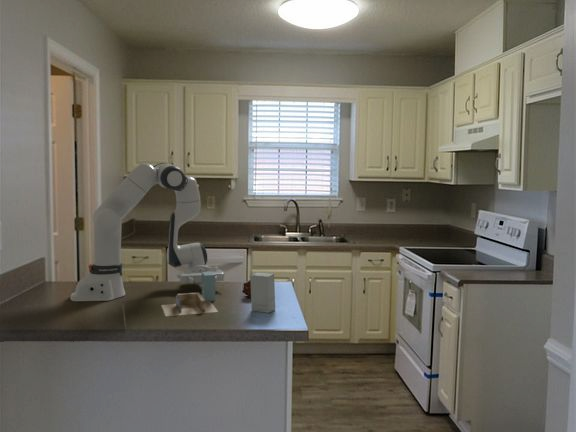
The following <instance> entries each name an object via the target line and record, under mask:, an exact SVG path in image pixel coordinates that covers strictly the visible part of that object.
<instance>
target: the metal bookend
mask: <svg viewBox="0 0 576 432" xmlns="http://www.w3.org/2000/svg"><path fill="white" fill-rule="evenodd" d="M175 304H176V307H177V309H178V311H179V313H181V300H180V298H179V296H178V295H177V294H175Z"/></svg>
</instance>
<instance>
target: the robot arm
mask: <svg viewBox="0 0 576 432" xmlns="http://www.w3.org/2000/svg"><path fill="white" fill-rule="evenodd" d="M155 185H159V186H160V187H162V188H165V189H167V190H170V191H174V193H175V201H176V205H175V210H174V211H173V212H172V213H171V214H170V217H169V226H168V238H167V239H168V242H167V251H166V256H165V257H166V261H167V264H168V265H169V266H171V267H173V268H179V267H182V266H185V267H186V268H185V271H186V272H180V273H179V275H177V279H179V283H180V284H195V285H202V272H213V273H214V274H215V283H217V282H223V281H225V272H224V271H223V270H221V269H220V268H218V266H209V265H207V263H208V253H207V252H208V251H207V249H206V247H205V246H204V244H202V243H201V242H199V241H198V242H193V243H192V242H191V243H187V244H186V243H185V244H182V245H179V244H178V239H179V238H178V236H179V230H180V227H181V226H183V225H184V224H186V223H187V222H189V221H191V220H193V219H194V218H196V217H197V216H198V215H199V213H200V211H201V209H202V206H201V205H202V203H201V202H202V201H201V193H200V190H199V186H198V182H197V180H196V179H195V178H194V177H192V176H189V175H188V176H186V174H185V173H184V171H183V170H182V169H181V168H180V167H179V166H177V165H174V164H172V163H167V162H161V163H157V164H155V165H152V164H150V163H147V162H143V163H139V165H137V166H136V167H135V168H134V169H132V170H131V171H130V172H128V174H127V175H126V177H125V178H124V179H123V180H122V181H121V182H120V184H119V185H118V186H117V187H116V188H115V190H114V191H113V192H111V193H110V194H109V196H108V197H107V198H106V199H105V200H104V201H103V202H102V203H101V204H100V205H99V206H98V208H96V210H95V211H94V212H93V214H92V222H93V259H94V260H93V262H94V263H89V265H88V268H89V269H88V270H89V273H88V274H87V275H85V276H84V277H83V278H82V279H80V280H79V281H78V282H77V284H76V287H75V292H72V293H71V294H70V295H69V299H70V301H71V302H101V301H104V302H105V301H112V300H114V299H119V298H122V297H124V296H126V294H127V293H126V290H125V288H124V287H125V286H124V282H123V273H124V271H123V263H122V228H123V227H122V225H123V224H122V220H123V219H124V218H125V217H126V216H127V215H128V214H129V213H130V212H131V211H132V210H133V209H134V208H136V207H137V205H138V204H139V203H140V202H141V200H142V199H143V198H144V197H145V195H147V194H148V192H149V191H150V189H151V188H152V187H154V186H155Z"/></svg>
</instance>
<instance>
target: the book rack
mask: <svg viewBox="0 0 576 432" xmlns="http://www.w3.org/2000/svg"><path fill="white" fill-rule="evenodd" d="M176 295H178V296H179V298H180V300H181V313H179V311H178V309H177V307H176V303H172V304H171V303H170V304H161V308H162V311H163V315H164V316H165V317H172V316H173V317H174V316H175V317H176V316H186V315H187V316H188V315H198V314H199V315H200V314H209V313H210V314H212V313H218V312H219V311H218V309H217V308H216V306H215V305H214V304H213V302H212V301H205V299H204V298H203V297H202V293H201V292H188V293H187V292H186V293H177V294H176Z"/></svg>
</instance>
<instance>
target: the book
mask: <svg viewBox="0 0 576 432" xmlns="http://www.w3.org/2000/svg"><path fill="white" fill-rule="evenodd" d="M201 295H202V297H203V298H204V299H205V302H208V301H210V302H215V301H216V282H215V274H214V273H213V272H202V284H201Z"/></svg>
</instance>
